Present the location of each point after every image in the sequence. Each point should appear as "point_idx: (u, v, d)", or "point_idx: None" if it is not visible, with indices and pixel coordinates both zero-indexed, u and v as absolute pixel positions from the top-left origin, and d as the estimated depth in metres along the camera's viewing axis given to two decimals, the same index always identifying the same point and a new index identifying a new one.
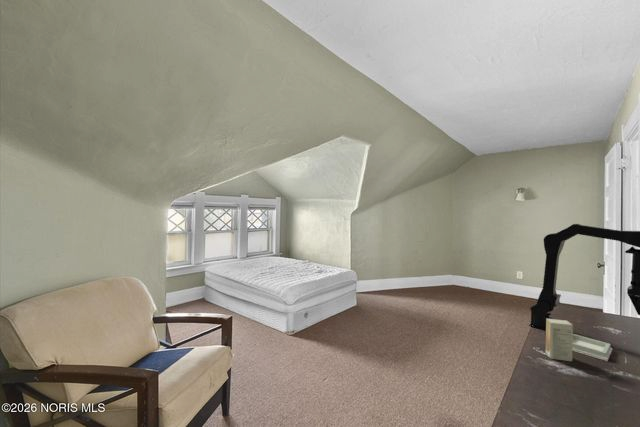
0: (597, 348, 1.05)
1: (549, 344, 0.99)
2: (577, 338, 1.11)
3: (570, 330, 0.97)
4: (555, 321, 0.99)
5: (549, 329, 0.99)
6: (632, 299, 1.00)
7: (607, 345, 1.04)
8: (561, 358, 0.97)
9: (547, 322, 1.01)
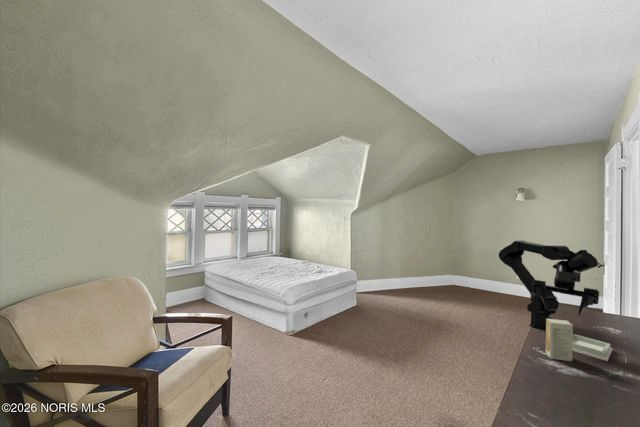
0: (597, 348, 1.05)
1: (549, 344, 0.99)
2: (577, 338, 1.11)
3: (570, 330, 0.97)
4: (555, 321, 0.99)
5: (549, 329, 0.99)
6: (541, 297, 1.13)
7: (607, 345, 1.04)
8: (561, 358, 0.97)
9: (547, 322, 1.01)
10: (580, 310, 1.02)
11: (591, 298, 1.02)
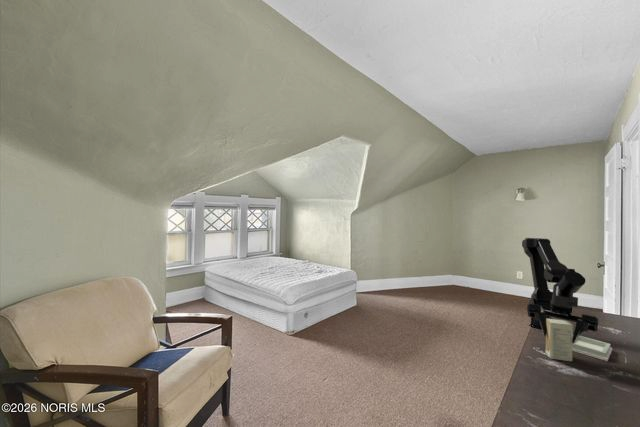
0: (597, 348, 1.05)
1: (549, 344, 0.99)
2: (577, 338, 1.11)
3: (570, 330, 0.97)
4: (555, 321, 0.99)
5: (549, 329, 0.99)
6: (540, 323, 1.06)
7: (607, 345, 1.04)
8: (561, 358, 0.97)
9: (547, 322, 1.01)
10: (574, 337, 0.96)
11: (586, 324, 0.96)
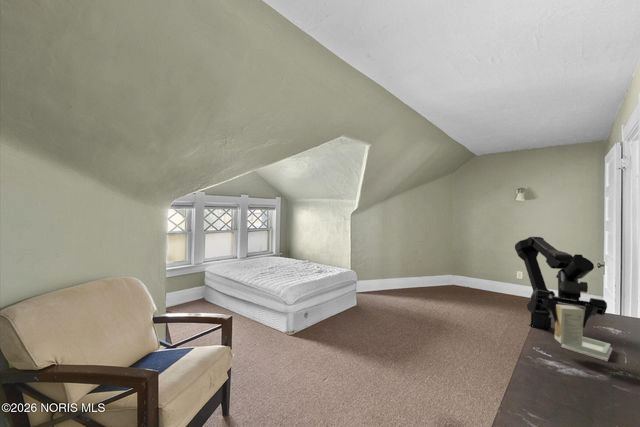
0: (597, 348, 1.05)
1: (560, 330, 0.99)
2: None
3: (580, 315, 0.97)
4: (565, 307, 0.99)
5: (560, 315, 0.99)
6: (548, 309, 1.06)
7: (607, 345, 1.04)
8: (572, 343, 0.98)
9: (557, 308, 1.01)
10: (585, 322, 0.97)
11: (595, 309, 0.97)
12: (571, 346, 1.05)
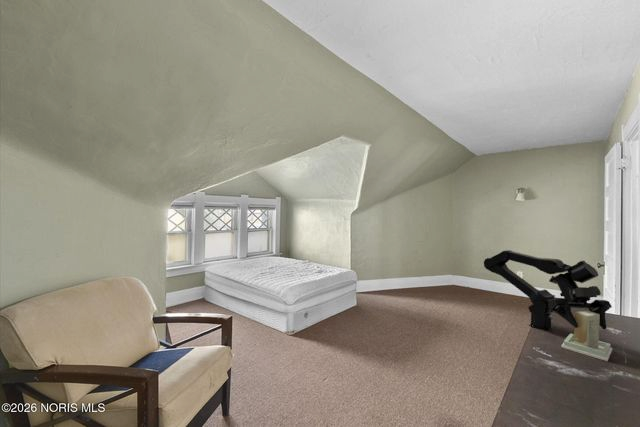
0: (597, 348, 1.05)
1: (584, 336, 1.04)
2: None
3: (598, 319, 1.04)
4: (587, 314, 1.04)
5: (584, 322, 1.04)
6: (561, 315, 1.10)
7: (607, 345, 1.04)
8: (593, 347, 1.04)
9: (578, 315, 1.06)
10: (604, 324, 1.04)
11: (606, 310, 1.07)
12: (571, 346, 1.05)
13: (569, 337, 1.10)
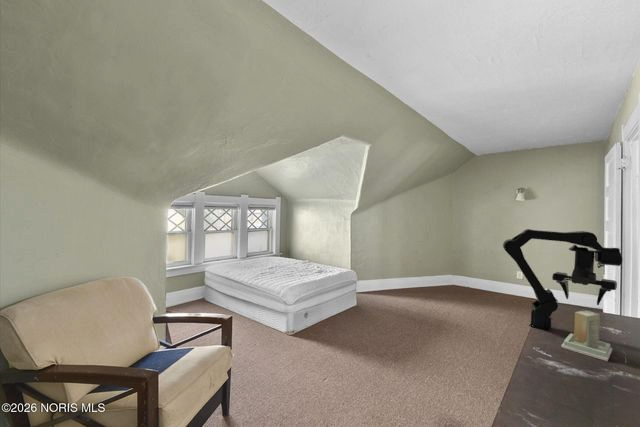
0: (597, 348, 1.05)
1: (584, 336, 1.04)
2: None
3: (598, 319, 1.04)
4: (587, 314, 1.04)
5: (584, 322, 1.04)
6: None
7: (607, 345, 1.04)
8: (593, 347, 1.04)
9: (578, 315, 1.06)
10: (598, 301, 1.14)
11: None
12: (571, 346, 1.05)
13: (569, 337, 1.10)
